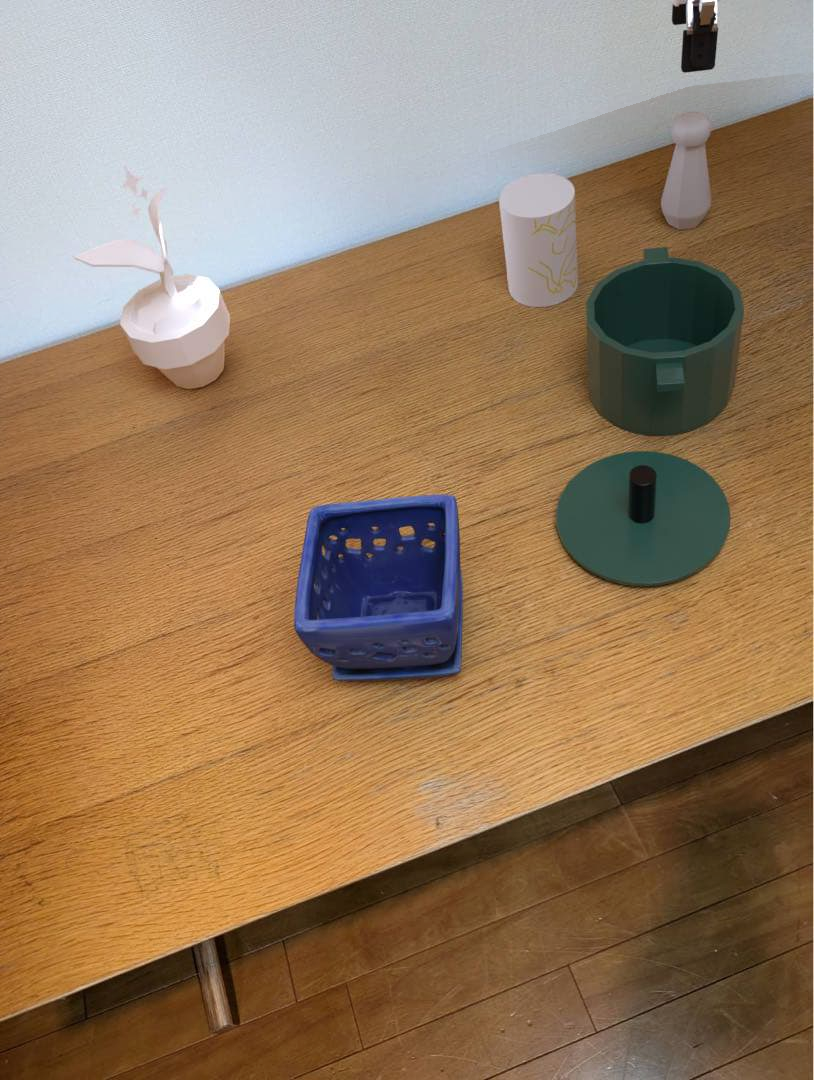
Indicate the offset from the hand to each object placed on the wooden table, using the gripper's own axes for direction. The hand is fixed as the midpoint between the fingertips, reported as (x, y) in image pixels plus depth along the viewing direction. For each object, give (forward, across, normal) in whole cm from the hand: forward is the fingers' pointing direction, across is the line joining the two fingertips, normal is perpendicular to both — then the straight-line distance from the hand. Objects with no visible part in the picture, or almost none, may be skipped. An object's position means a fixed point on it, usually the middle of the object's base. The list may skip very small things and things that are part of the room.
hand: (692, 45), depth 101 cm
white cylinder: (+22, +8, -16) cm, 29 cm away
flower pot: (+22, +56, -30) cm, 67 cm away
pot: (+22, +26, -5) cm, 35 cm away
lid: (+21, +44, -8) cm, 50 cm away
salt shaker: (+22, -2, +1) cm, 22 cm away
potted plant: (+23, +19, -58) cm, 65 cm away
